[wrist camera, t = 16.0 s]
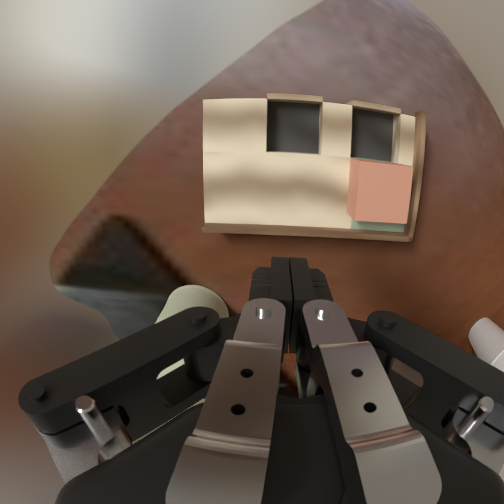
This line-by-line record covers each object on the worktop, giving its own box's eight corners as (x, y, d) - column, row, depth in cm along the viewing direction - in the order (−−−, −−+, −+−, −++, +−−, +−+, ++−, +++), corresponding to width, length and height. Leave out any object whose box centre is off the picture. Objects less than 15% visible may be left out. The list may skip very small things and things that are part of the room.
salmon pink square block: (394, 214, 30) (406, 223, 27) (346, 211, 31) (354, 220, 27) (399, 163, 28) (413, 167, 25) (350, 158, 28) (359, 160, 25)
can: (178, 338, 43) (154, 395, 32) (158, 288, 39) (122, 341, 28) (235, 334, 41) (223, 396, 30) (219, 280, 38) (198, 338, 27)
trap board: (399, 230, 33) (411, 242, 30) (209, 221, 35) (201, 232, 31) (410, 113, 27) (426, 112, 24) (208, 97, 29) (199, 92, 25)
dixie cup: (459, 353, 41) (481, 389, 32) (465, 320, 38) (492, 356, 29) (491, 338, 39) (514, 369, 30) (498, 305, 36) (526, 336, 27)
